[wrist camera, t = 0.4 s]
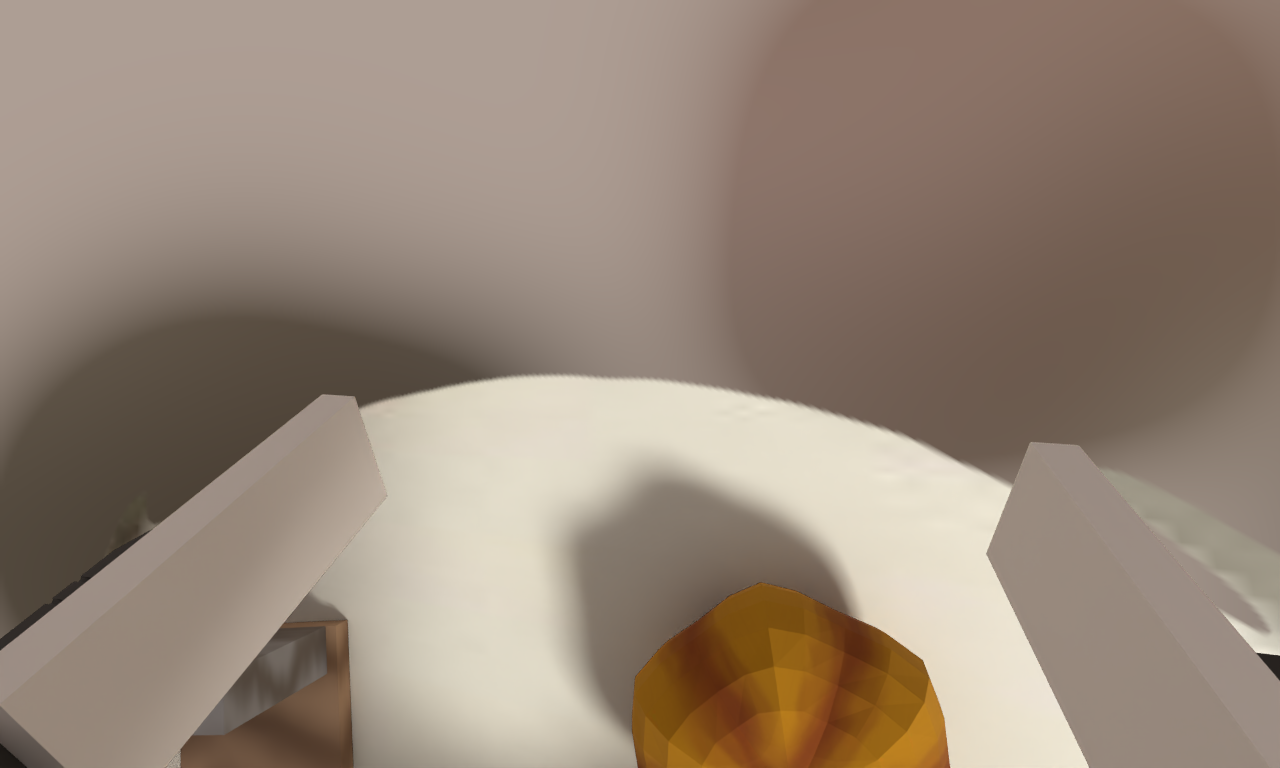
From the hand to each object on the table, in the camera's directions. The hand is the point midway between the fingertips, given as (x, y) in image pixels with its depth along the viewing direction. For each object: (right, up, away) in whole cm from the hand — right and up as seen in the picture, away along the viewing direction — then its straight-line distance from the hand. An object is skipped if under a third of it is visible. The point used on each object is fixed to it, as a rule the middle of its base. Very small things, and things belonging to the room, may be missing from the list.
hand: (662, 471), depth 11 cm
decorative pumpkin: (+10, -24, +33) cm, 42 cm away
